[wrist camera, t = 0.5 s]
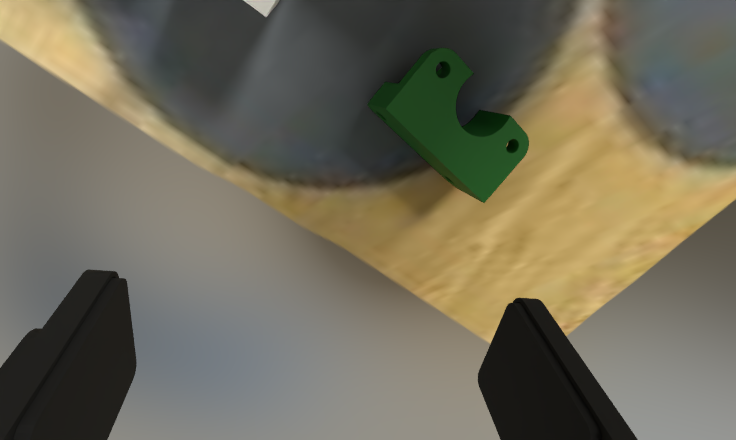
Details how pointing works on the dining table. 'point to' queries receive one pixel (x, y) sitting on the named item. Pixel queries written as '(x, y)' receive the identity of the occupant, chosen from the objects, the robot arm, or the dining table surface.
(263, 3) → the white rectangular block
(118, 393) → the robot arm
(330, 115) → the dining table surface
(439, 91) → the clamp
